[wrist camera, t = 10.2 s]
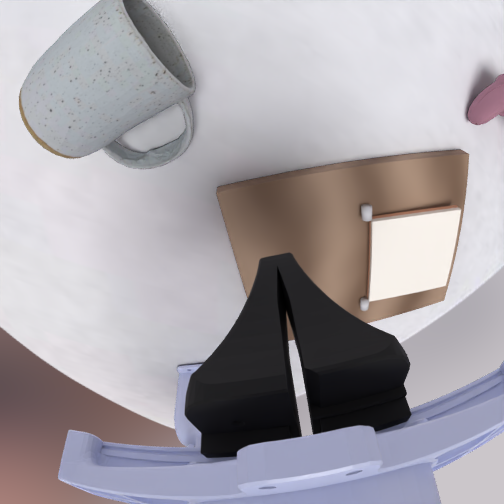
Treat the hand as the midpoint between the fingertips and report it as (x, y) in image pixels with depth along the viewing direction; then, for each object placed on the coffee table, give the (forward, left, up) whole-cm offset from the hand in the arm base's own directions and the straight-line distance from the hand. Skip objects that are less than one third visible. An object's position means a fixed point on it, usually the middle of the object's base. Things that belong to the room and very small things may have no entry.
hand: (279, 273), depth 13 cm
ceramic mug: (-6, +9, -10) cm, 15 cm away
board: (+7, -7, -9) cm, 14 cm away
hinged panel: (+11, -7, -7) cm, 15 cm away
